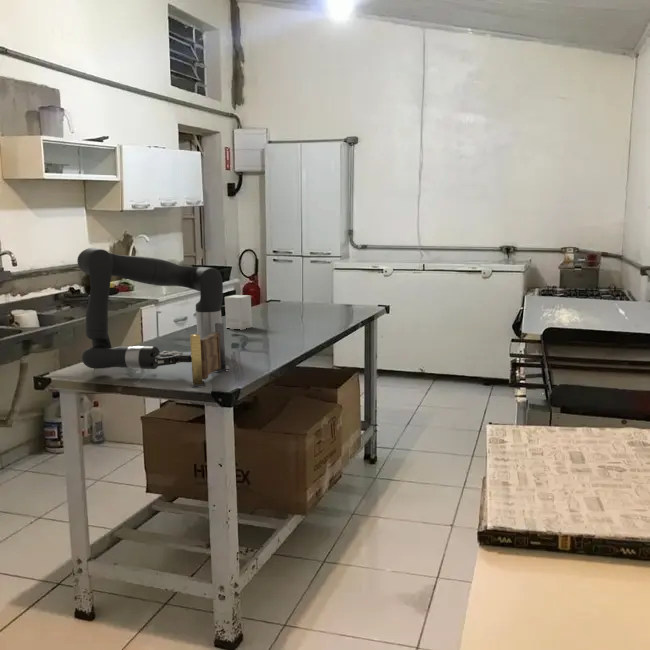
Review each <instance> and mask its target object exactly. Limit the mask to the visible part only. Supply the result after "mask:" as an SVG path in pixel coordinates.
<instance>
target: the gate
mask: <svg viewBox="0 0 650 650" xmlns="http://www.w3.org/2000/svg"><path fill="white" fill-rule="evenodd" d="M200 343H201V362H202V380H206V379H208V378H209V376H210V375H211V374H212V373H215V372H214V371H215V370H217V369H221V354H220V332H214V333H212V334H210V335H208V336H206V337H204V338H202V339H200Z"/></svg>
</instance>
